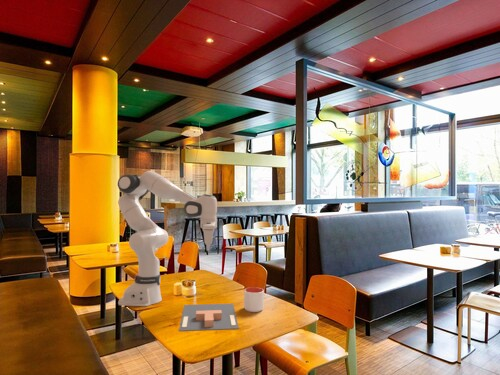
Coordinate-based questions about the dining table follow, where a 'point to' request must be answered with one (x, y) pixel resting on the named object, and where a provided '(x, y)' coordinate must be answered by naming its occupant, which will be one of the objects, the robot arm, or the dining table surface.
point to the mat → (192, 324)
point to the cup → (253, 299)
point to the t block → (209, 316)
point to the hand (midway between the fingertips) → (208, 250)
